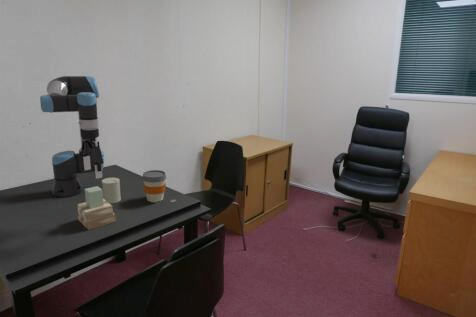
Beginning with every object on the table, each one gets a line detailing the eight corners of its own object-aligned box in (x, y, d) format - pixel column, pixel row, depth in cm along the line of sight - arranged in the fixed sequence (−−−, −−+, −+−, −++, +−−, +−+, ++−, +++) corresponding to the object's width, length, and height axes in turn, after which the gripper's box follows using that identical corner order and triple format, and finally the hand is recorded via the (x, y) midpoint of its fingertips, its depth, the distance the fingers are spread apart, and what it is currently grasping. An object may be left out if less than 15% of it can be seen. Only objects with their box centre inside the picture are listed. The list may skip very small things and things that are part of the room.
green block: (86, 204, 164) (84, 188, 161) (98, 201, 167) (97, 186, 165) (90, 208, 159) (89, 192, 157) (103, 205, 163) (102, 189, 161)
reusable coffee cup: (150, 193, 201) (149, 168, 197) (170, 196, 198) (170, 171, 194) (139, 201, 189) (137, 175, 185) (159, 205, 186) (159, 178, 182)
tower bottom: (78, 220, 167) (77, 212, 166) (105, 213, 175) (104, 205, 174) (88, 231, 158) (87, 222, 156) (115, 223, 166) (115, 214, 165)
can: (115, 204, 185) (113, 183, 182) (99, 202, 187) (97, 181, 183) (124, 197, 194) (122, 177, 190) (109, 195, 195) (107, 175, 192)
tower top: (78, 212, 165) (77, 203, 164) (103, 206, 173) (102, 197, 172) (87, 221, 157) (86, 212, 155) (112, 214, 164) (112, 206, 163)
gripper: (70, 124, 159) (75, 168, 165) (91, 134, 142) (95, 183, 148) (87, 122, 164) (91, 165, 170) (109, 132, 147) (112, 179, 153)
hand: (93, 173), depth 159 cm, fingers open, 13 cm apart
